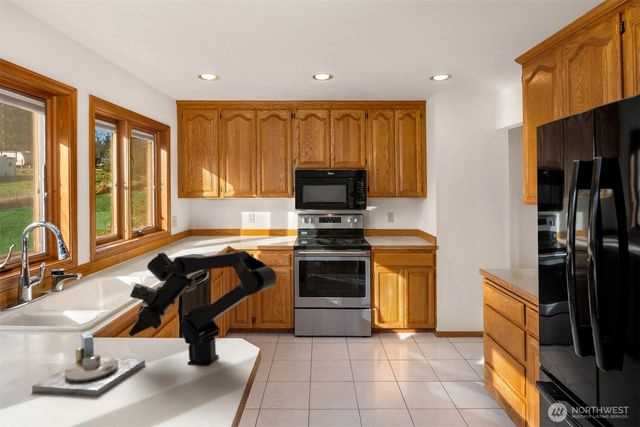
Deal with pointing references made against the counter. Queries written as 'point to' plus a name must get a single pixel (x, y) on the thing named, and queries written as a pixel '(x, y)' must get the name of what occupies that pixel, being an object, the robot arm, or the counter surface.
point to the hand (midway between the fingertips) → (130, 334)
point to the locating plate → (88, 387)
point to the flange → (90, 363)
